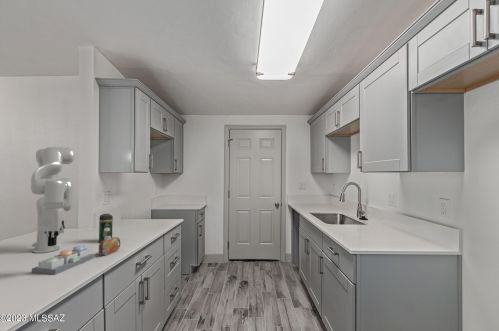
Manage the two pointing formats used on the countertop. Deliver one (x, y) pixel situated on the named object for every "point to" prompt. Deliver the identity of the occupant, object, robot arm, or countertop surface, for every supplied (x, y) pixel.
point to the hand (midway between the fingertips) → (52, 245)
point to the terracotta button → (66, 253)
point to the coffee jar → (105, 227)
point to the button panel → (63, 262)
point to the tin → (109, 246)
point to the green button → (51, 259)
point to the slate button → (78, 248)
